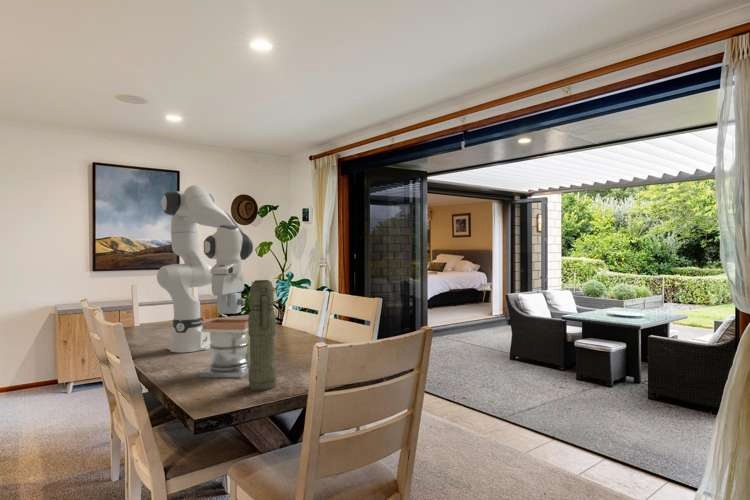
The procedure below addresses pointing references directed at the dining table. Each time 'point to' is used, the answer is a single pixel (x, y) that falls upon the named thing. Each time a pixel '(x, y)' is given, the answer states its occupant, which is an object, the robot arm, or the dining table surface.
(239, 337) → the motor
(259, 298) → the thermos
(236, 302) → the pale grey rectangular block
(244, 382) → the dining table surface
